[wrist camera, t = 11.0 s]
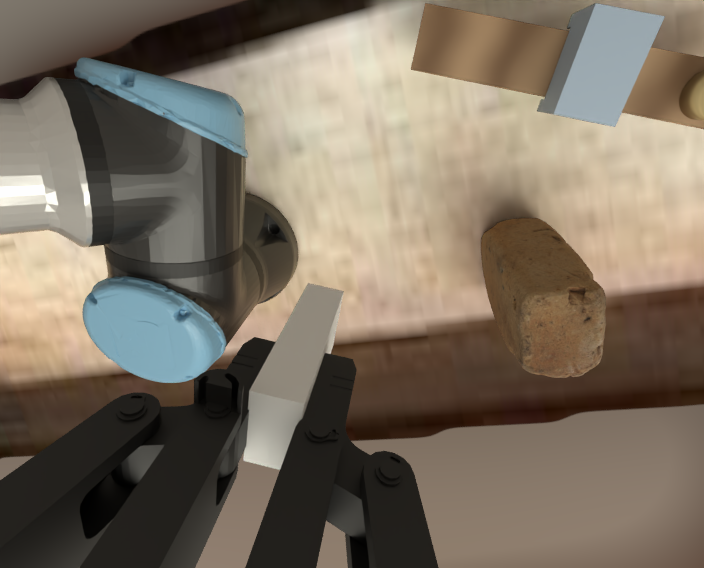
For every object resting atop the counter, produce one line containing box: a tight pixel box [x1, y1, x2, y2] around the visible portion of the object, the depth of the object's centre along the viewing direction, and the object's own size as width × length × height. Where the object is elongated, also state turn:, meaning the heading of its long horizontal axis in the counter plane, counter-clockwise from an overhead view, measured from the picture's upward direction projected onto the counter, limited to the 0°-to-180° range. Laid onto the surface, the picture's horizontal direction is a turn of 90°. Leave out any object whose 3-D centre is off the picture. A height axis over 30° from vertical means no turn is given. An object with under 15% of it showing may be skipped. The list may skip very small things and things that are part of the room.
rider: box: [537, 3, 665, 127], centre depth 33 cm, size 5×8×5 cm, turn 170°
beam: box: [411, 3, 704, 129], centre depth 36 cm, size 28×5×10 cm, turn 80°
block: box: [481, 218, 606, 378], centre depth 41 cm, size 11×8×20 cm
